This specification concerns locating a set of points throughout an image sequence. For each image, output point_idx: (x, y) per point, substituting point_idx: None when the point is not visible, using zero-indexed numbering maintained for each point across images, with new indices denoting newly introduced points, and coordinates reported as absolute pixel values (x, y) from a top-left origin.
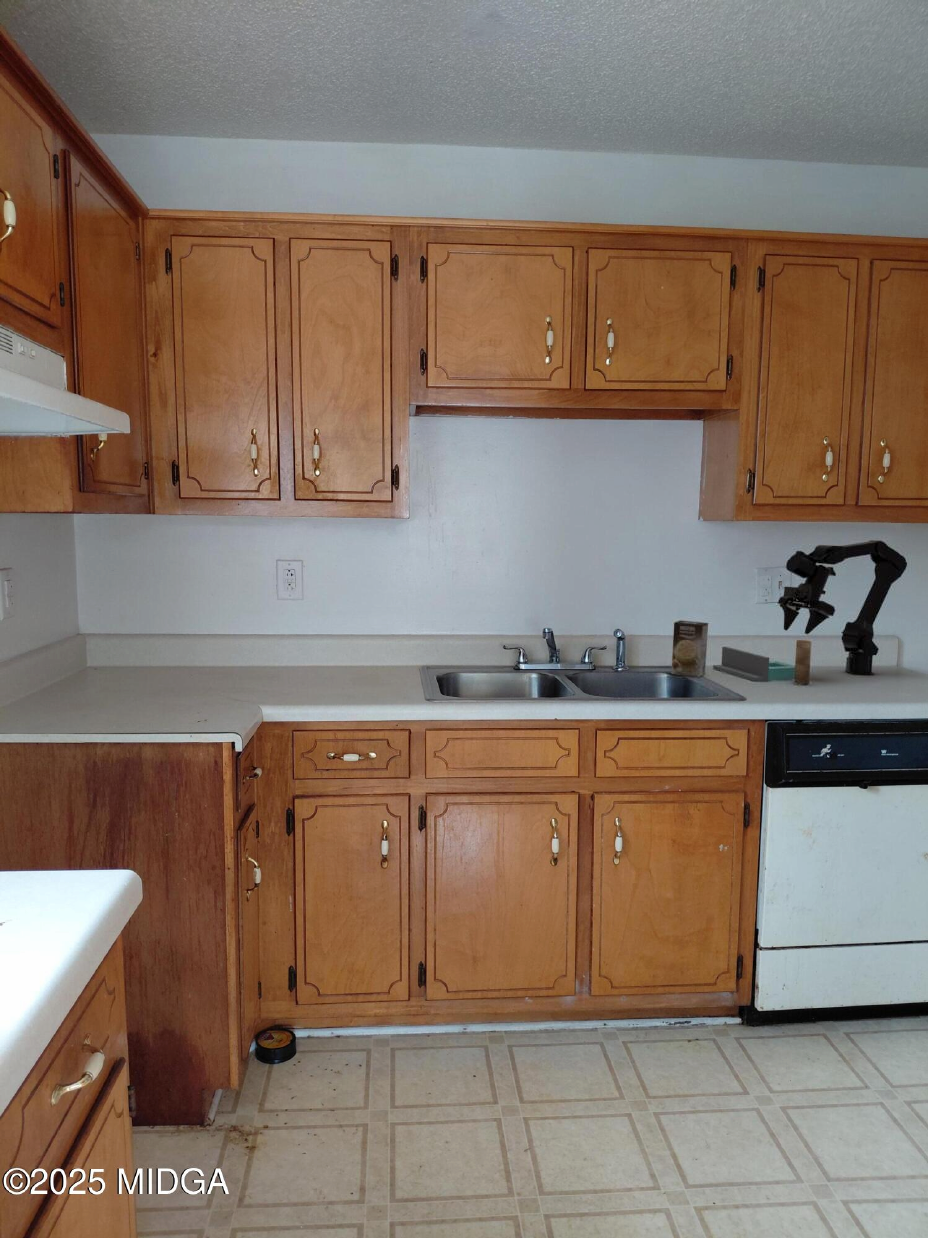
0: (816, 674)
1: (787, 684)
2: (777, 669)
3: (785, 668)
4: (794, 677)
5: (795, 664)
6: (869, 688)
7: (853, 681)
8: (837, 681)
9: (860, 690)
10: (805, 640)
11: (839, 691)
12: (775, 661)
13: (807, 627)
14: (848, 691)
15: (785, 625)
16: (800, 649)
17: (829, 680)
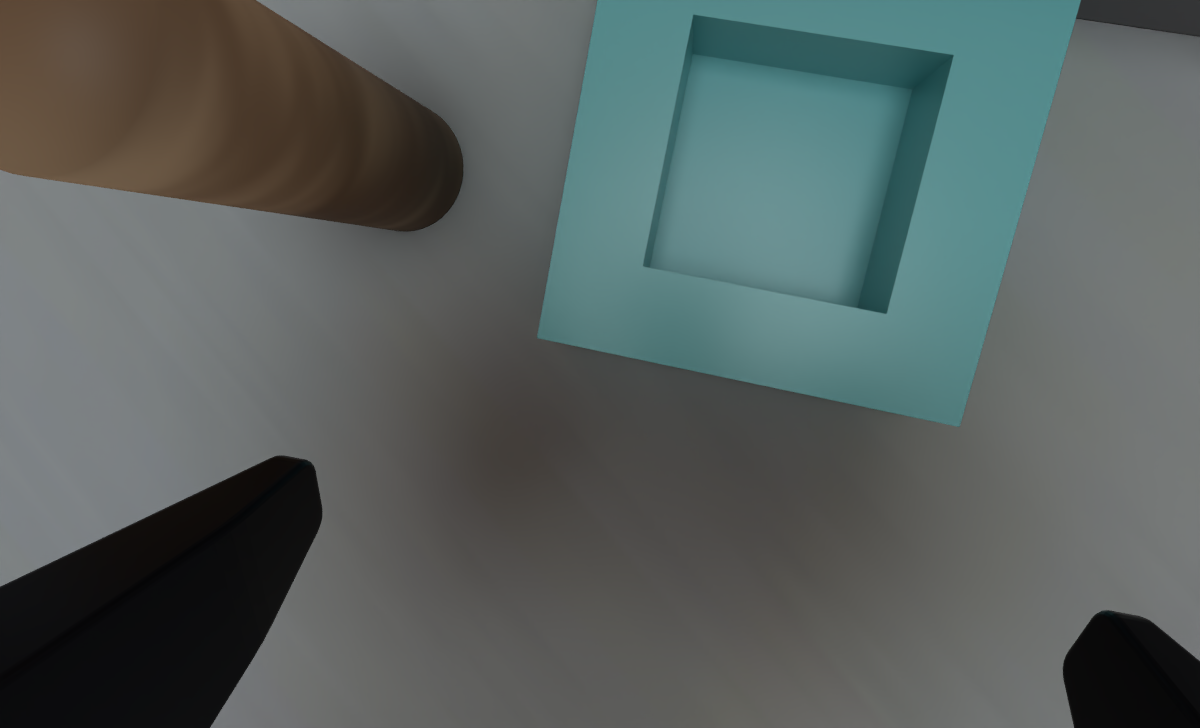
0: (681, 679)
1: (425, 12)
2: (594, 33)
3: (572, 140)
4: (419, 104)
5: (345, 57)
6: (83, 525)
7: (326, 671)
8: (371, 555)
9: (46, 392)
10: (88, 142)
11: (61, 200)
12: (962, 396)
13: (138, 529)
14: (42, 269)
15: (1176, 703)
16: None
17: (428, 533)
